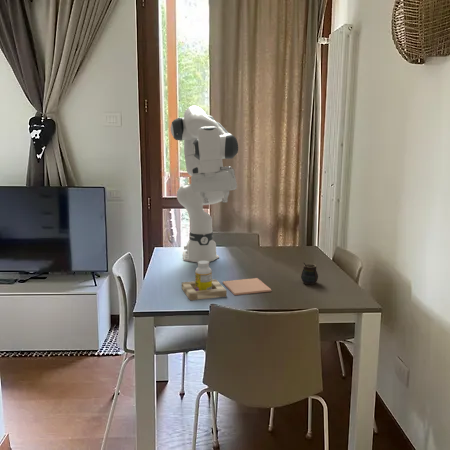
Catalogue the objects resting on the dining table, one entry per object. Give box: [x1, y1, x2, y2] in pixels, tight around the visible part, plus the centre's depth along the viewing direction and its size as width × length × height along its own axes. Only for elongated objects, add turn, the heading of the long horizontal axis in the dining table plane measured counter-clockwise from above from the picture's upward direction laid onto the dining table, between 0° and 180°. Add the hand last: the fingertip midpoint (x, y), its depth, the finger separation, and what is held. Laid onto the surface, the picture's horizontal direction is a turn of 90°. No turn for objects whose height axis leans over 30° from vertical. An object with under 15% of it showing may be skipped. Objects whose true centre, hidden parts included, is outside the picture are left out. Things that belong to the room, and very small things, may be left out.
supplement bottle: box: [194, 261, 213, 291], centre depth 192 cm, size 7×7×13 cm
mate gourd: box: [300, 262, 319, 285], centre depth 204 cm, size 7×8×10 cm
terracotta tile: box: [222, 277, 272, 296], centre depth 199 cm, size 16×16×1 cm
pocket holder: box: [181, 278, 228, 301], centre depth 193 cm, size 15×15×2 cm
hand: (215, 202), depth 187 cm, fingers open, 8 cm apart
